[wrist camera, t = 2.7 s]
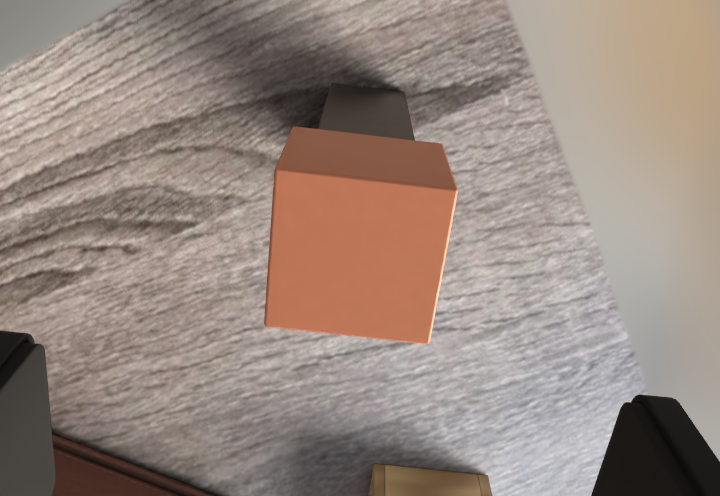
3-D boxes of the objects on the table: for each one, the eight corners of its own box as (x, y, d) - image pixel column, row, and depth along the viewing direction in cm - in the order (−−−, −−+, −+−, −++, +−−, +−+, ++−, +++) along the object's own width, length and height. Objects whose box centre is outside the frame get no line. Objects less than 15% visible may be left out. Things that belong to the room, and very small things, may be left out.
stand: (405, 91, 29) (419, 160, 20) (394, 162, 31) (404, 258, 21) (330, 82, 29) (311, 147, 20) (323, 154, 30) (302, 246, 21)
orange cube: (443, 143, 20) (459, 189, 16) (420, 277, 22) (429, 345, 18) (292, 125, 20) (274, 167, 16) (282, 261, 22) (263, 327, 18)
